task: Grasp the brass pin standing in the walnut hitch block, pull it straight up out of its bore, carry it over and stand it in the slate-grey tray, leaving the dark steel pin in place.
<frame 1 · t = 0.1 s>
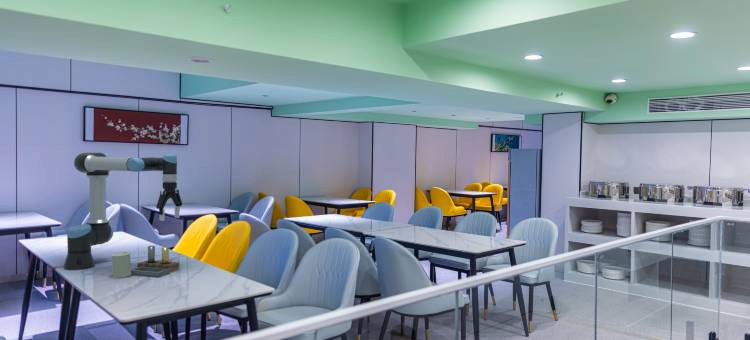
hand: (169, 219, 297), 28 cm above the table, fingers open, 13 cm apart
brass pin: (165, 270, 292), resting in hitch block
steel pin: (151, 269, 295), resting in hitch block
tray: (149, 274, 283), on the table
can: (122, 275, 279), on the table, touching tray
hitch block: (158, 269, 294), on the table
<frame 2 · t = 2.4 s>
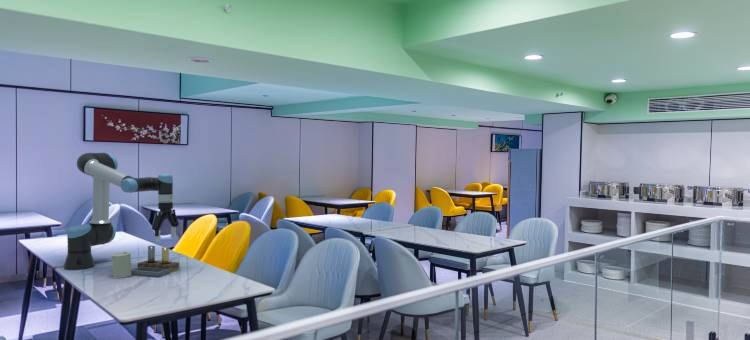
hand: (165, 240, 292), 17 cm above the table, fingers open, 13 cm apart
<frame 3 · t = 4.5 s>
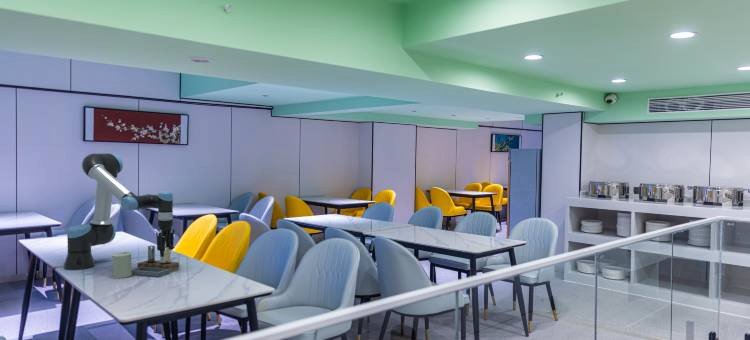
hand: (165, 261, 292), 5 cm above the table, fingers closed on brass pin, 4 cm apart
brass pin: (165, 270, 292), resting in hitch block, touching gripper
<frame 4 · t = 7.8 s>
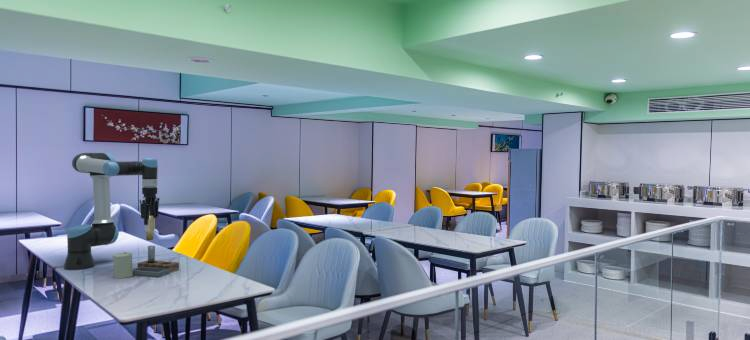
hand: (149, 230, 282), 24 cm above the table, fingers closed on brass pin, 4 cm apart
brass pin: (149, 239, 283), point 19 cm above the table, touching gripper
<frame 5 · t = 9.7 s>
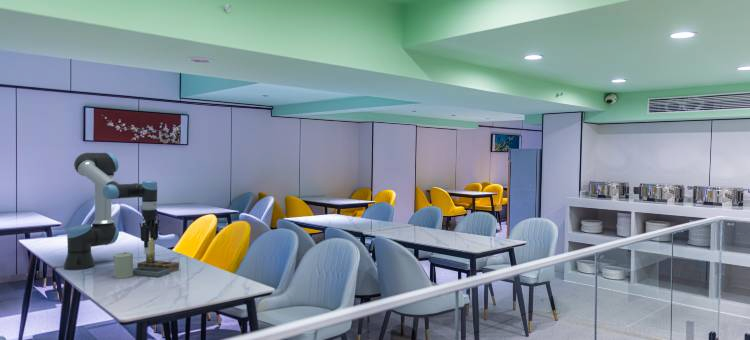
hand: (149, 252, 283), 12 cm above the table, fingers closed on brass pin, 4 cm apart
brass pin: (149, 261, 283), point 7 cm above the table, touching gripper
when the fingers open (7 cm above the table, at t = 11.4 s): brass pin drops 1 cm, resting on tray.
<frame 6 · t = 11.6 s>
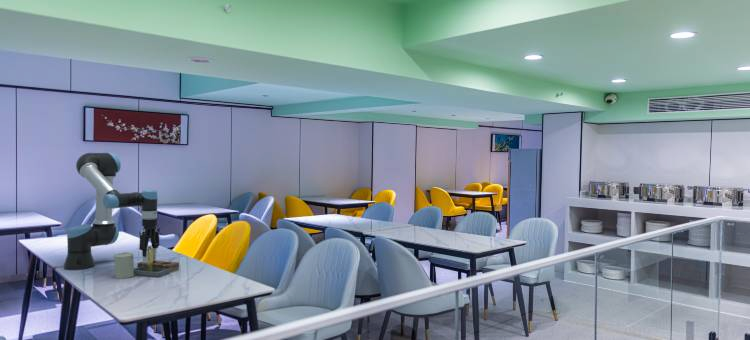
hand: (149, 261, 283), 7 cm above the table, fingers open, 6 cm apart
brass pin: (149, 273, 283), point 1 cm above the table, touching tray
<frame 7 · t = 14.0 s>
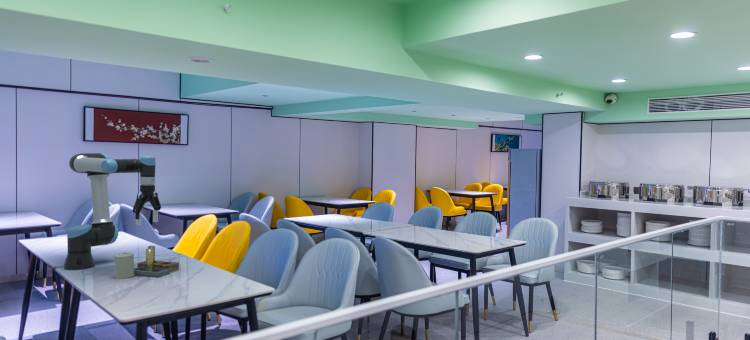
hand: (147, 223, 285), 27 cm above the table, fingers open, 13 cm apart
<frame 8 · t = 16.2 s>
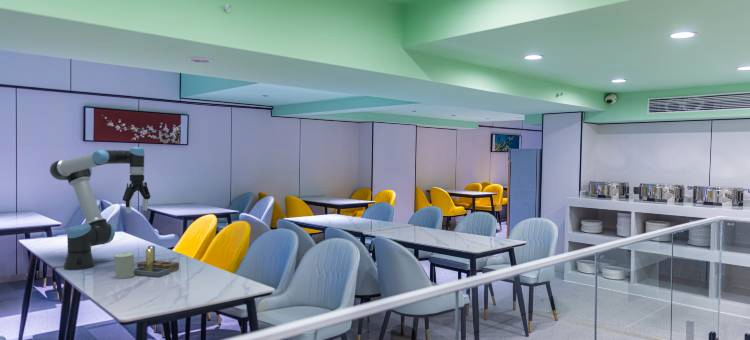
hand: (137, 211, 299), 32 cm above the table, fingers open, 13 cm apart
at the end: brass pin inside the target area on the tray (0.1 cm from its centre), point 0.6 cm above the tray's base; the gripper is holding nothing; steel pin moved 0.0 cm from its start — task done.
